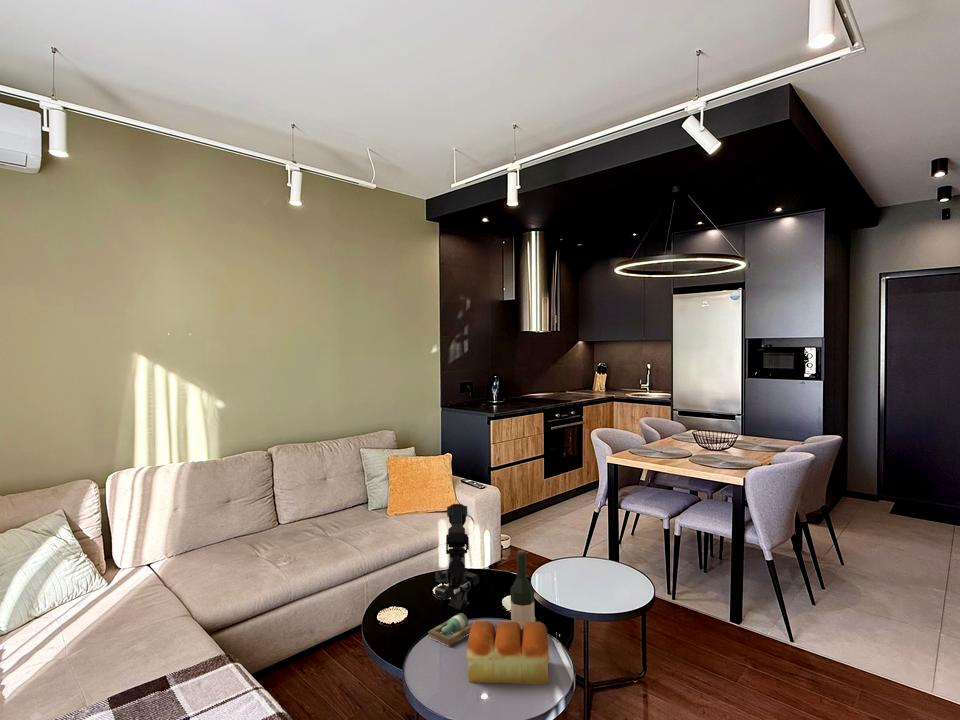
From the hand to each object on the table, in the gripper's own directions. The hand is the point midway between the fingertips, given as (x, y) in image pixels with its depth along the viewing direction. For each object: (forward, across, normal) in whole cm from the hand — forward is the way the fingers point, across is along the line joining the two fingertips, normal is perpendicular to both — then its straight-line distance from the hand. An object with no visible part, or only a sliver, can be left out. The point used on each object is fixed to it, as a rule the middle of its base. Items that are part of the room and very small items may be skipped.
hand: (458, 608), depth 192 cm
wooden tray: (+8, +3, 0) cm, 8 cm away
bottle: (+5, -2, 0) cm, 6 cm away
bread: (+8, +10, +30) cm, 33 cm away
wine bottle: (+8, -11, +21) cm, 25 cm away
